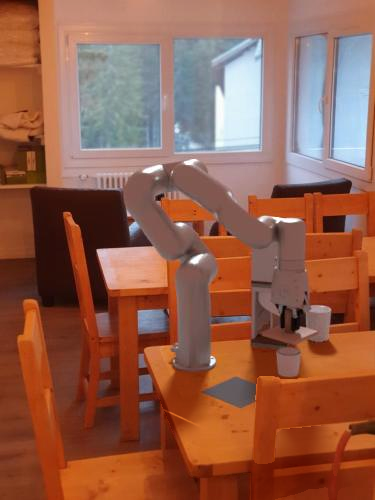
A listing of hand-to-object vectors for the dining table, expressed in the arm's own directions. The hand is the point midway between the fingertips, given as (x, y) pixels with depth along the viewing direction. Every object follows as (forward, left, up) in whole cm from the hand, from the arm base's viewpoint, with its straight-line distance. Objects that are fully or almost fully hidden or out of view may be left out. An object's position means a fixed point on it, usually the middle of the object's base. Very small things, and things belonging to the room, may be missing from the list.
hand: (290, 328), depth 194 cm
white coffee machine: (-19, +17, -14) cm, 29 cm away
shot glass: (0, 0, -14) cm, 14 cm away
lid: (0, 0, -2) cm, 2 cm away
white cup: (-11, +29, -14) cm, 34 cm away
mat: (-2, -19, -14) cm, 24 cm away
